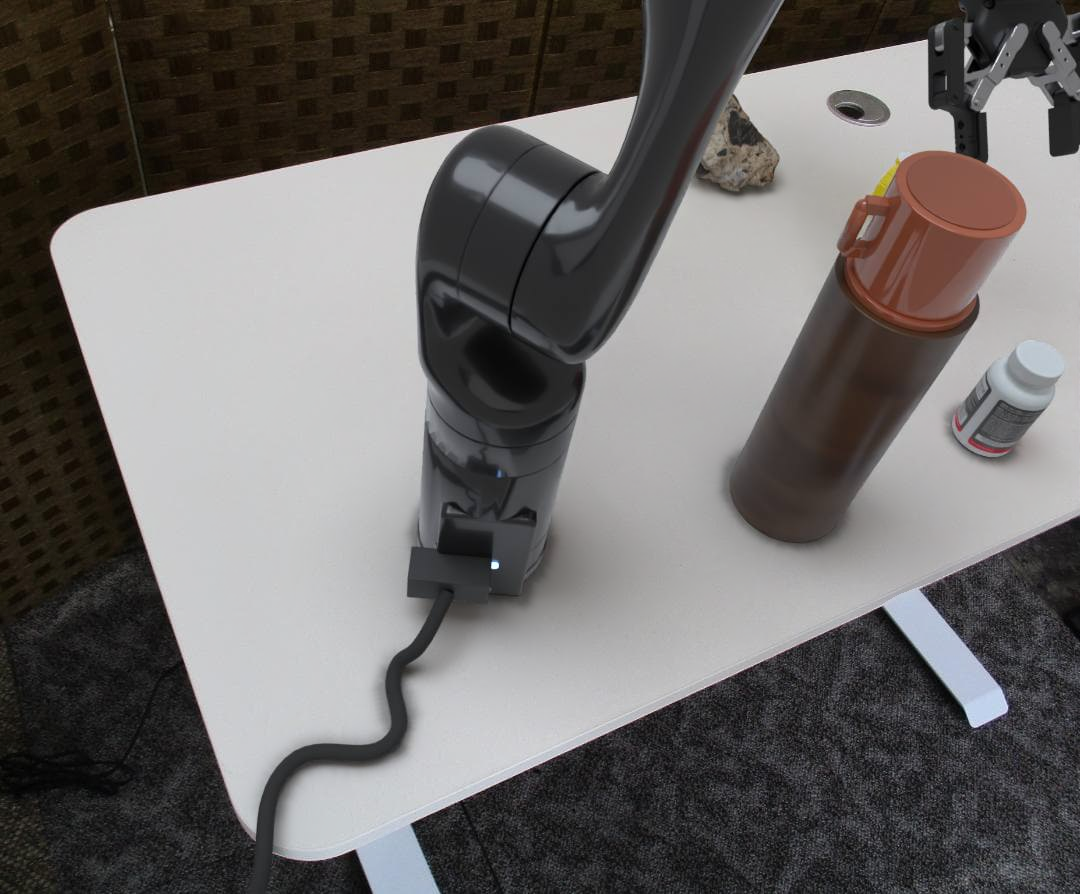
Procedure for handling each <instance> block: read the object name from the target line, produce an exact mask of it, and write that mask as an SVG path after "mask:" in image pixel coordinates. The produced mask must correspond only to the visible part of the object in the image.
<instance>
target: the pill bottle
mask: <svg viewBox="0 0 1080 894" xmlns="http://www.w3.org/2000/svg"><path fill="white" fill-rule="evenodd" d="M1066 365H1067V364H1066V362H1065V359H1064V357H1063V355H1062V354H1061V353H1060V352H1059V351H1058V350H1057V349H1055V347H1053V346H1051V345H1049V344H1048V343H1045V342H1044V341H1041V340H1035V339H1027V340H1023V341H1021V342H1019V343H1018V344H1017V345H1016V346H1015V347H1014V349H1013V350H1012V351H1011V353H1010V354H1009V355H1004V356H1001V357H998V358H997V359H996V360H994V361H993V362H992V363H991V364H990V366H988V368H987V370H986V371H985V372H984V374H983V375H982V377H981V378H980V379H979V380H978V382H977V383H976V384H975V386H974V388H973V389H972V390H971V391H970V393H969V394H968V395H967V397H966V398H965V399H964V401H963V402H962V403H961V404H960V406H959V407H958V409H957V411H956V412H955V413H954V415H953V417H952V421H951V427H952V431H953V434H954V436H955V437H956V439H957V440H958V441H959V442H960V444H961V445H963V446H964V447H965V448H966V449H968V450H969V451H971V452H974V453H975V454H976V455H980V456H984V457H988V458H998V457H1003V456H1004V455H1006V454H1008V453H1009V452H1010V451H1011V450H1012V449H1013V448H1015V446H1016V445H1017V443H1019V441H1020V440H1021V439H1022V438H1023V436H1024V435H1025V434H1026V433H1027V431H1029V429H1030V428H1031V427H1032V425H1034V423H1035V422H1036V421H1037V420H1038V419H1039V418H1040V416H1041V415H1042V414H1043V413H1044V412H1045V411H1046V409H1047V408H1048V407H1049V406H1051V403H1052V402H1053V401H1054V398H1055V397H1056V384H1057V383H1058V381H1059V380H1060V379H1061V377H1062V376H1063V374H1064V373H1065V371H1066Z"/></svg>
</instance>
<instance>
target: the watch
mask: <svg viewBox="0 0 1080 894" xmlns="http://www.w3.org/2000/svg"><path fill="white" fill-rule="evenodd" d="M912 154H914V153H913V152H910V151H903V152H900V153H899V154H898V155H897V157H896V159H895V165H894V166H892V167H891V168H890V169H889V170H888V171H887V172H886V173H885V174H884V175H883V177H882V178H881V179H880V180H879V182H878V183H877V185H876V186H875V189H874V190H873V192H872V194H871V195H874V196H882V197H883V195H884V193H885V191H886V189H887V187H888V185H889V183H890V181H891V179H892V177H893V175H894V173H895V171H896V169H897V167H898V165H899V164H900V163H901V162H902V161H903V160H904V159H905V158H907V157H908V156H910V155H912Z"/></svg>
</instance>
